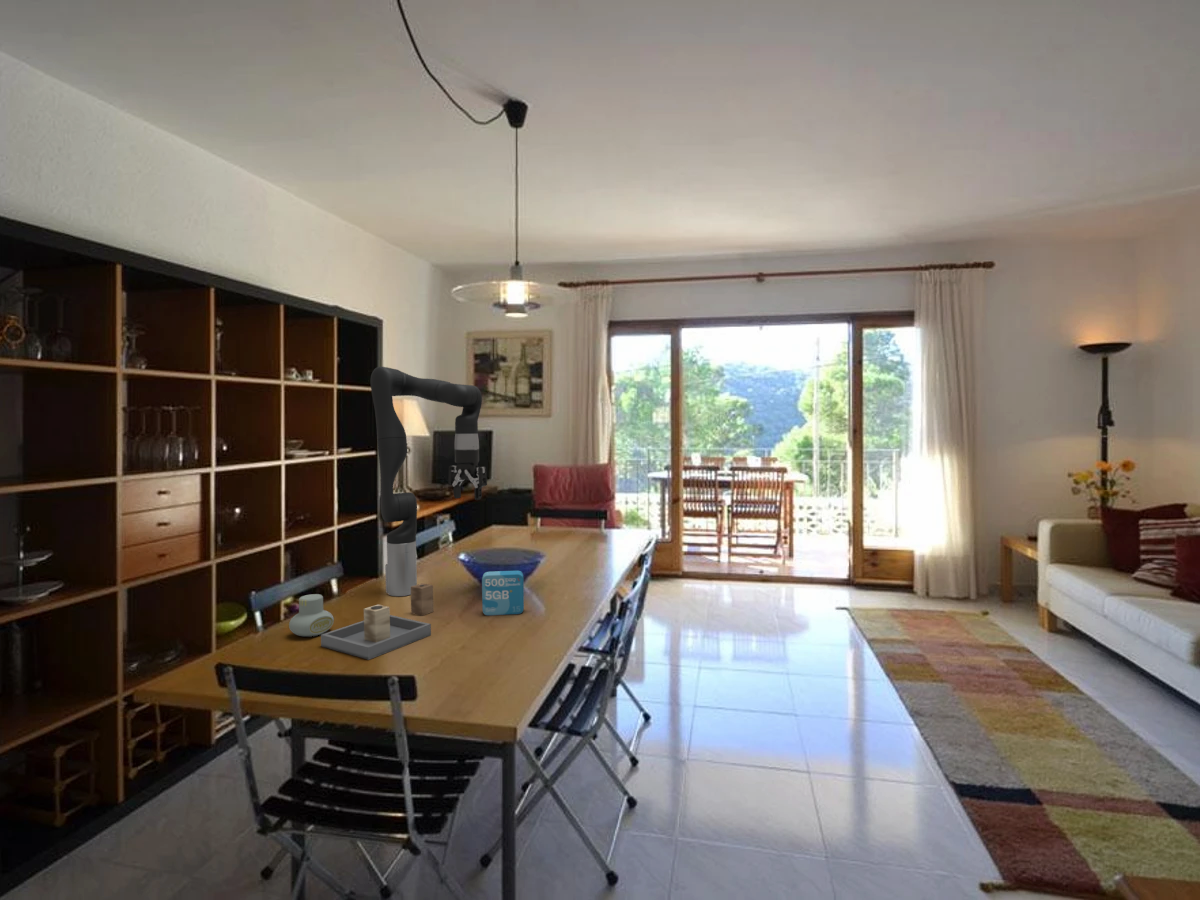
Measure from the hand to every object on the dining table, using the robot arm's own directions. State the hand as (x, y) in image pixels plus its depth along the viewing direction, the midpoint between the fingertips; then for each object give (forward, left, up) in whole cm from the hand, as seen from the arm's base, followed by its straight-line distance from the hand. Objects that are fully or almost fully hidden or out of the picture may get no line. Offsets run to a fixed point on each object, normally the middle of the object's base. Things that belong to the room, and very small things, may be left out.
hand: (467, 498), depth 200 cm
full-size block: (-2, -18, -32) cm, 37 cm away
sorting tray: (+6, -41, -32) cm, 52 cm away
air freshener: (-14, -46, -32) cm, 58 cm away
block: (+6, -41, -32) cm, 52 cm away
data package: (+19, -6, -32) cm, 38 cm away
